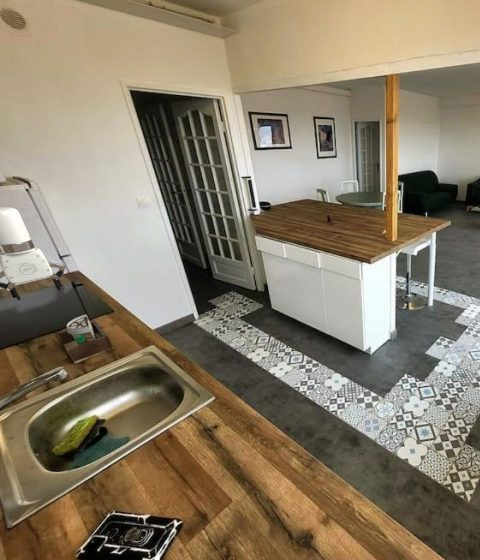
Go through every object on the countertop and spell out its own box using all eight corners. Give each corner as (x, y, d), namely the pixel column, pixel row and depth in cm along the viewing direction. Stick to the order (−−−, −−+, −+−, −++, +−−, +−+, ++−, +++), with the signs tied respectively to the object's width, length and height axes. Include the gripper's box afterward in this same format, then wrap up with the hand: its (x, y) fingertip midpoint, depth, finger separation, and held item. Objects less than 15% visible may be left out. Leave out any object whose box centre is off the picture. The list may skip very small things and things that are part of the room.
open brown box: (74, 363, 109) (67, 350, 107) (63, 345, 119) (57, 332, 116) (113, 348, 117) (107, 336, 115) (100, 332, 127) (95, 320, 124)
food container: (75, 341, 120) (64, 319, 115) (96, 335, 124) (86, 313, 119) (76, 356, 112) (65, 333, 107) (99, 349, 116) (88, 326, 111)
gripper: (-26, 256, 91) (2, 306, 98) (56, 243, 104) (76, 289, 111) (-27, 250, 95) (0, 299, 102) (52, 238, 108) (71, 283, 115)
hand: (39, 294), depth 107 cm, fingers open, 9 cm apart
